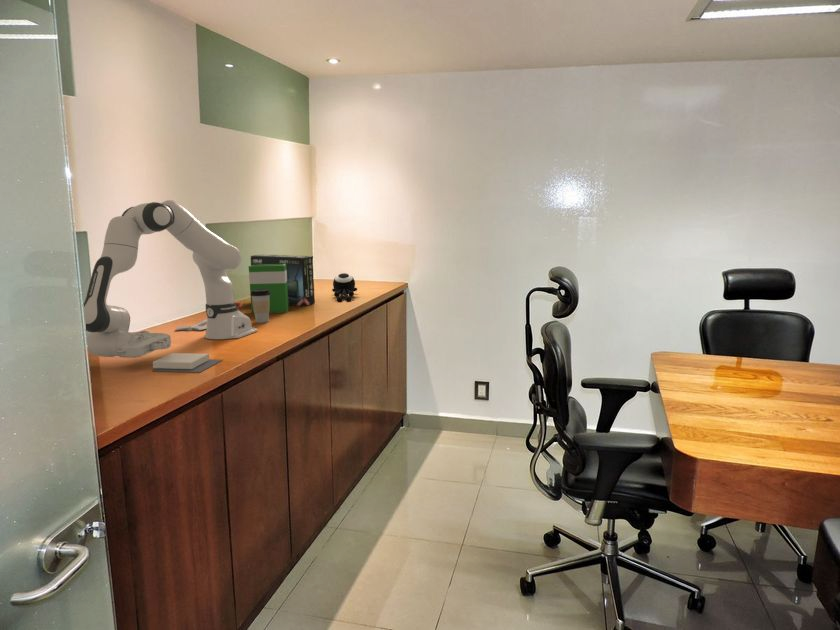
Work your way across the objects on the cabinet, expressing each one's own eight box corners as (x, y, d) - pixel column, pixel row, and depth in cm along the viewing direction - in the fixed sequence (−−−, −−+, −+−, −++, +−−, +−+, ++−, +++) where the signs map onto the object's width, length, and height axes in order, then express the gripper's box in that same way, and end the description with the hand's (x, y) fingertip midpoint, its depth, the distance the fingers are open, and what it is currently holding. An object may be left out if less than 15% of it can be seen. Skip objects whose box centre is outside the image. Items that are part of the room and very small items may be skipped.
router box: (251, 303, 339) (248, 255, 334) (264, 300, 349) (261, 253, 344) (305, 306, 325) (302, 256, 320) (316, 303, 335) (314, 255, 330)
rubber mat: (152, 371, 202) (152, 370, 202) (178, 359, 217) (178, 358, 217) (199, 372, 199) (199, 371, 199) (222, 360, 215) (222, 359, 215)
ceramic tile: (152, 361, 203) (191, 362, 201) (172, 353, 215) (208, 353, 213) (153, 368, 204) (191, 369, 202) (172, 359, 216) (209, 360, 213)
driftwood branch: (201, 319, 295) (200, 314, 295) (228, 319, 294) (228, 314, 294) (172, 332, 266) (172, 327, 265) (203, 332, 265) (202, 327, 264)
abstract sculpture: (329, 291, 334) (330, 265, 361) (331, 320, 343) (332, 293, 371) (357, 290, 335) (356, 264, 363) (358, 319, 345) (357, 292, 372)
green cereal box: (251, 313, 308) (248, 266, 303) (254, 310, 315) (251, 264, 310) (286, 312, 309) (284, 265, 304) (288, 309, 316) (286, 263, 312)
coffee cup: (257, 324, 278) (255, 292, 275) (248, 321, 285) (246, 290, 282) (276, 321, 284) (274, 290, 281) (266, 319, 291) (264, 288, 288)
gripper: (111, 343, 200) (149, 343, 198) (147, 330, 220) (182, 330, 217) (113, 361, 201) (151, 362, 199) (149, 346, 221) (184, 347, 219)
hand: (168, 345), depth 208 cm, fingers closed
